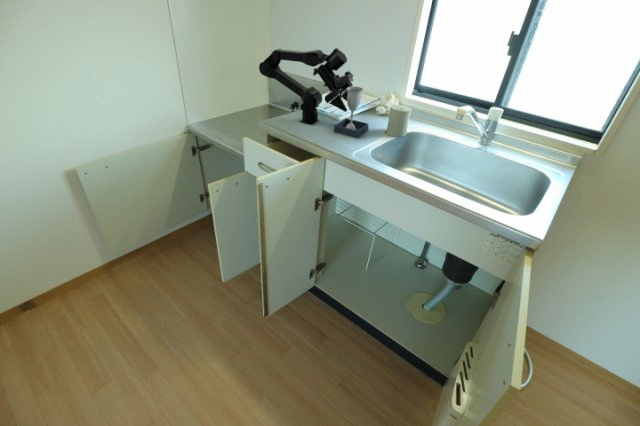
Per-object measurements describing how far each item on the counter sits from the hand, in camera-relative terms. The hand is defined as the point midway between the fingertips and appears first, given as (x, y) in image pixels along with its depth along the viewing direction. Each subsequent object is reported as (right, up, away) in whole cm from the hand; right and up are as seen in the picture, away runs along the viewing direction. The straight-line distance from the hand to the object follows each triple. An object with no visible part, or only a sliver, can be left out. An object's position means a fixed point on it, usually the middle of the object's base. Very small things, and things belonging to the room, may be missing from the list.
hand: (350, 108), depth 143 cm
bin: (+1, -9, +5) cm, 10 cm away
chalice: (+1, -8, +5) cm, 10 cm away
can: (+22, -9, +6) cm, 24 cm away
